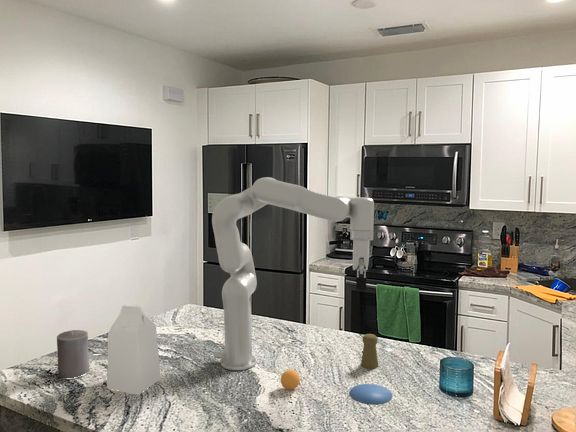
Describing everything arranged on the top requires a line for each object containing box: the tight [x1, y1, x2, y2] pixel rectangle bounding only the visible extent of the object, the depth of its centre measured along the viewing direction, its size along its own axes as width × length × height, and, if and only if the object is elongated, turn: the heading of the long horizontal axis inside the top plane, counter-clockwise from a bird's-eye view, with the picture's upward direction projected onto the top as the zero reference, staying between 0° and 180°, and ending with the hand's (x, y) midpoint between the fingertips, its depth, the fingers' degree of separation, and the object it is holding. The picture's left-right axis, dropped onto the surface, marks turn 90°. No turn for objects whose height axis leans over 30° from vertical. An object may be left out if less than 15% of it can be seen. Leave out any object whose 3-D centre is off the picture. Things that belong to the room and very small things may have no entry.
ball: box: [280, 369, 301, 391], centre depth 155 cm, size 6×6×6 cm
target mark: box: [349, 383, 393, 405], centre depth 151 cm, size 13×13×1 cm
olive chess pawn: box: [360, 333, 379, 370], centre depth 172 cm, size 6×6×11 cm
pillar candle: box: [56, 329, 90, 379], centre depth 166 cm, size 10×10×15 cm
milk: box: [106, 303, 162, 395], centre depth 157 cm, size 12×12×26 cm
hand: (360, 285), depth 164 cm, fingers open, 9 cm apart
